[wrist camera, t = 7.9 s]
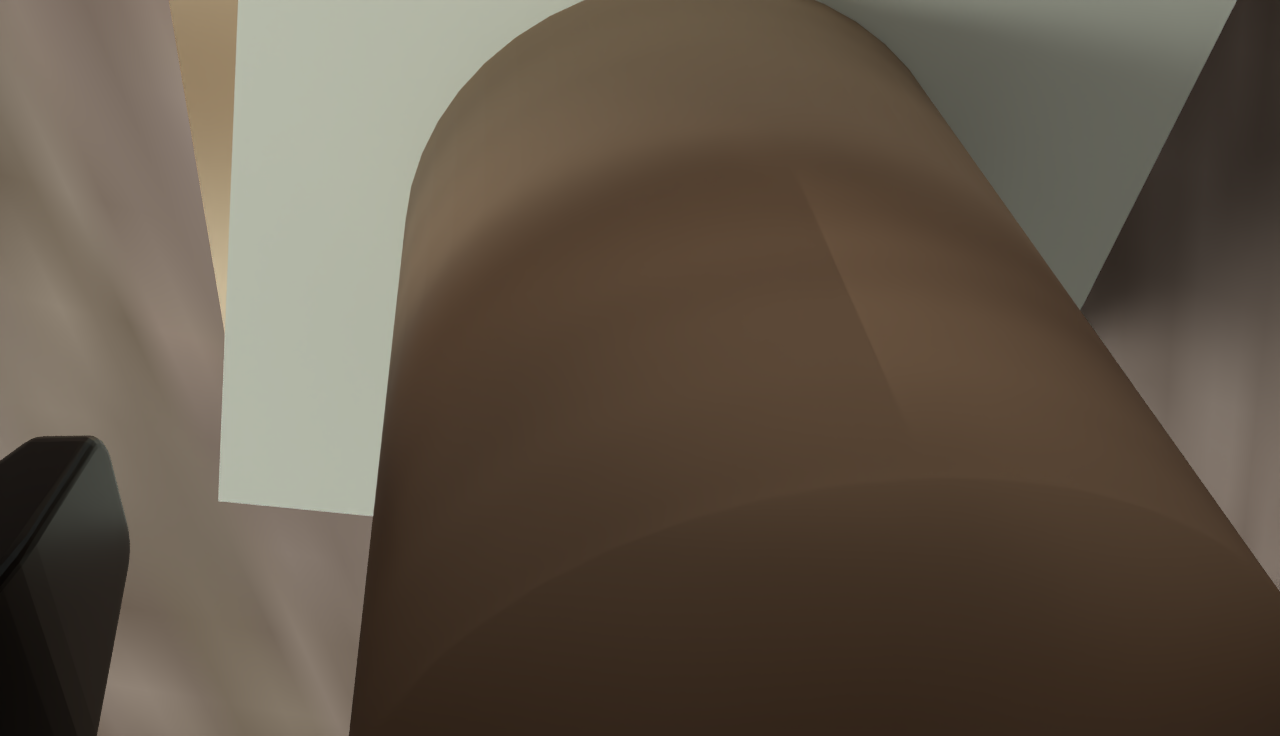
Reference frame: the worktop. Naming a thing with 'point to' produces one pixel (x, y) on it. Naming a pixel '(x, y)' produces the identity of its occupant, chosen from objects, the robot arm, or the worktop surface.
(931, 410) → the brown rounded cylinder
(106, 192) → the worktop surface
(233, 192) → the sage block
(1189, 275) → the worktop surface
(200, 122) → the maple block
